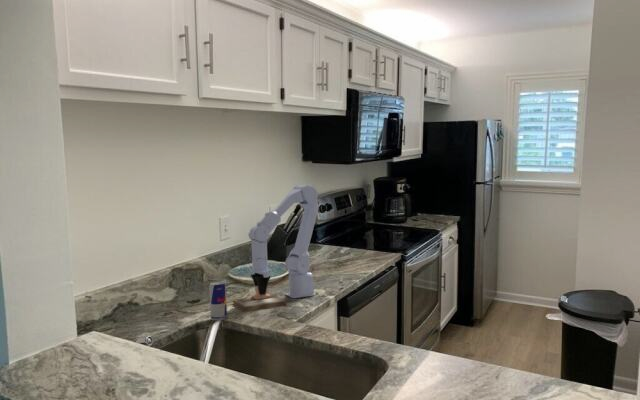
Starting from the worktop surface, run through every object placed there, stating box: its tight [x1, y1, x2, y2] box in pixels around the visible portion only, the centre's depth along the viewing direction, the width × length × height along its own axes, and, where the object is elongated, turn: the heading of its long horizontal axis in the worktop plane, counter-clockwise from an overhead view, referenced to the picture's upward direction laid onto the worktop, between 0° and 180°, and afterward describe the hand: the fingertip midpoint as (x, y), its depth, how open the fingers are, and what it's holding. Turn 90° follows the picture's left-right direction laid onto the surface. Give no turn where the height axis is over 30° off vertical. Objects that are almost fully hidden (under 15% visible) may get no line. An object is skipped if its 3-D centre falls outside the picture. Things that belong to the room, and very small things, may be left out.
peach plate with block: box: [250, 285, 271, 300], centre depth 186 cm, size 6×5×4 cm
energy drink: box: [208, 281, 228, 322], centre depth 164 cm, size 5×5×12 cm
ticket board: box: [232, 293, 287, 312], centre depth 182 cm, size 16×14×2 cm
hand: (261, 293), depth 186 cm, fingers closed on peach plate with block, 3 cm apart
